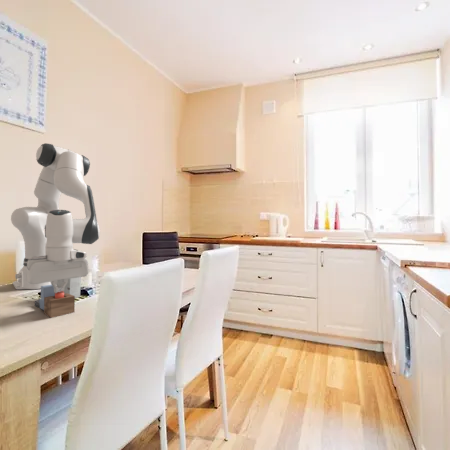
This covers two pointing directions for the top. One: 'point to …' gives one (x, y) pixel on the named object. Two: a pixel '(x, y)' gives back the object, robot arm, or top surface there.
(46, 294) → the light blue stepped block
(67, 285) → the skincare box
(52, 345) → the top surface
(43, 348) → the top surface
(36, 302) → the rail
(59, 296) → the button
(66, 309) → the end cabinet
